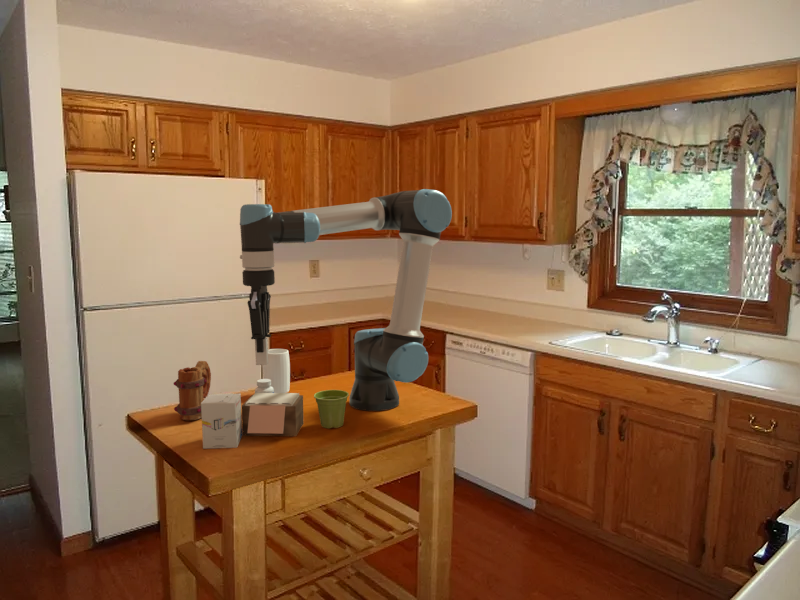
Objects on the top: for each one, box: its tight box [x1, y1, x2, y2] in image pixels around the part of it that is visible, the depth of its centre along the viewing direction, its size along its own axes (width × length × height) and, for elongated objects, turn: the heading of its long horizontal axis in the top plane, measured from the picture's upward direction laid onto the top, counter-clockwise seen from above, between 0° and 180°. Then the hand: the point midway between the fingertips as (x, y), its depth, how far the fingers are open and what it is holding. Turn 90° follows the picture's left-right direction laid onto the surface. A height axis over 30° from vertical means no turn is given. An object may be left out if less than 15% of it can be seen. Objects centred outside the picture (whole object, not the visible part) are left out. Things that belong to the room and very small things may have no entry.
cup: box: [262, 348, 291, 393], centre depth 197 cm, size 8×8×14 cm
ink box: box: [201, 392, 243, 450], centre depth 154 cm, size 9×8×12 cm
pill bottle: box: [254, 378, 274, 394], centre depth 178 cm, size 6×5×10 cm
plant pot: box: [313, 389, 350, 429], centre depth 167 cm, size 9×9×9 cm
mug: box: [173, 360, 212, 421], centre depth 176 cm, size 15×8×15 cm, turn 168°
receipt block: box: [241, 392, 305, 437], centre depth 164 cm, size 14×10×9 cm
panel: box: [247, 405, 285, 434], centre depth 157 cm, size 9×7×1 cm
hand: (262, 364), depth 152 cm, fingers closed
